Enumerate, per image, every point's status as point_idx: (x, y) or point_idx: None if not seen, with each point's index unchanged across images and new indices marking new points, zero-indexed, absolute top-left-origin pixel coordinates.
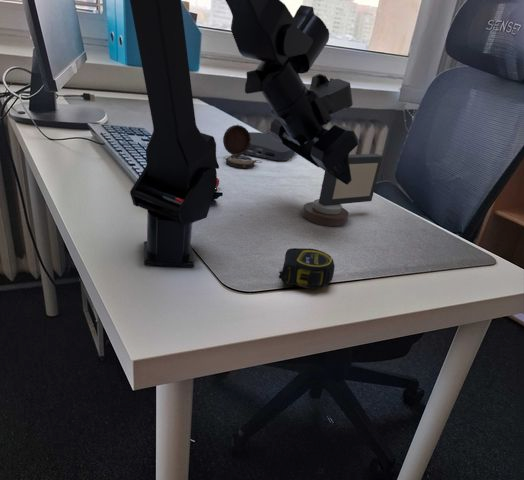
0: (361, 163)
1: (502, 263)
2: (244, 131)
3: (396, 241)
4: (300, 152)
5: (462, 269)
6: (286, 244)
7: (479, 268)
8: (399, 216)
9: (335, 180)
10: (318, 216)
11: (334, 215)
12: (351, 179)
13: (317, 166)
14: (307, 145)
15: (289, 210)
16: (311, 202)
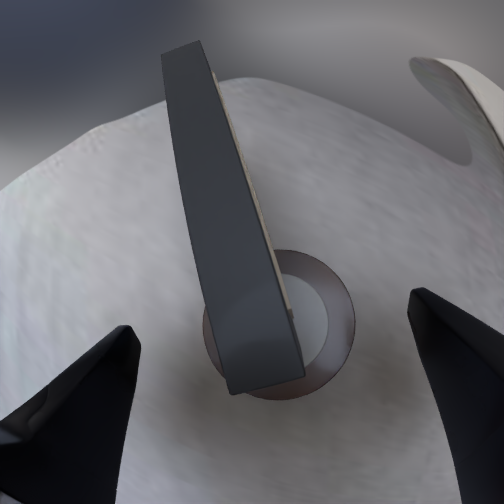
0: (236, 142)
1: (444, 59)
2: None
3: (420, 179)
4: (111, 470)
5: (496, 130)
6: (441, 475)
7: (480, 101)
8: (251, 100)
9: (291, 319)
10: (333, 375)
11: (329, 317)
12: (424, 288)
13: (139, 355)
14: (79, 449)
15: (220, 414)
16: (212, 351)
